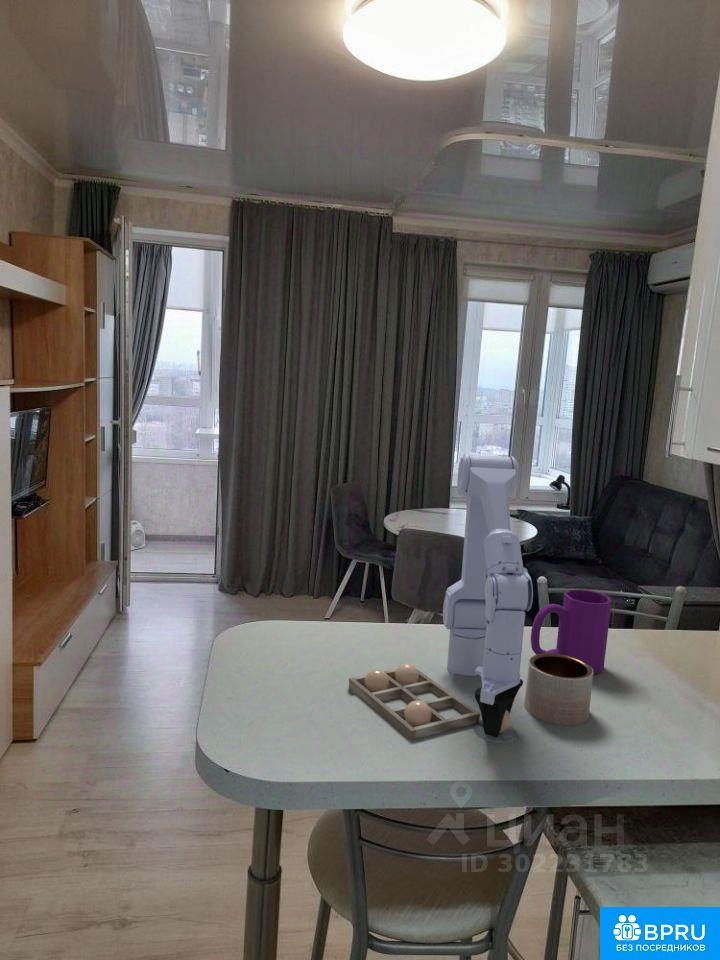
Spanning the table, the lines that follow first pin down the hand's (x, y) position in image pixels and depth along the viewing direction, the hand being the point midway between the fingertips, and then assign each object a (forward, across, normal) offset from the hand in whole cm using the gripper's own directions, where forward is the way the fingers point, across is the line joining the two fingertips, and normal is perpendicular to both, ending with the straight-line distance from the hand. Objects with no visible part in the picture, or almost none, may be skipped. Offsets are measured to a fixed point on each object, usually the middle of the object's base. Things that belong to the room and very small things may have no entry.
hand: (495, 727), depth 112 cm
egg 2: (+1, -8, -19) cm, 20 cm away
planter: (+2, -13, +7) cm, 15 cm away
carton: (+2, -1, -15) cm, 15 cm away
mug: (+2, -37, +4) cm, 37 cm away
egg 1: (+1, -2, -22) cm, 23 cm away
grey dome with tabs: (+2, 0, 0) cm, 2 cm away
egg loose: (+1, 0, 0) cm, 1 cm away
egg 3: (+1, +5, -12) cm, 13 cm away
